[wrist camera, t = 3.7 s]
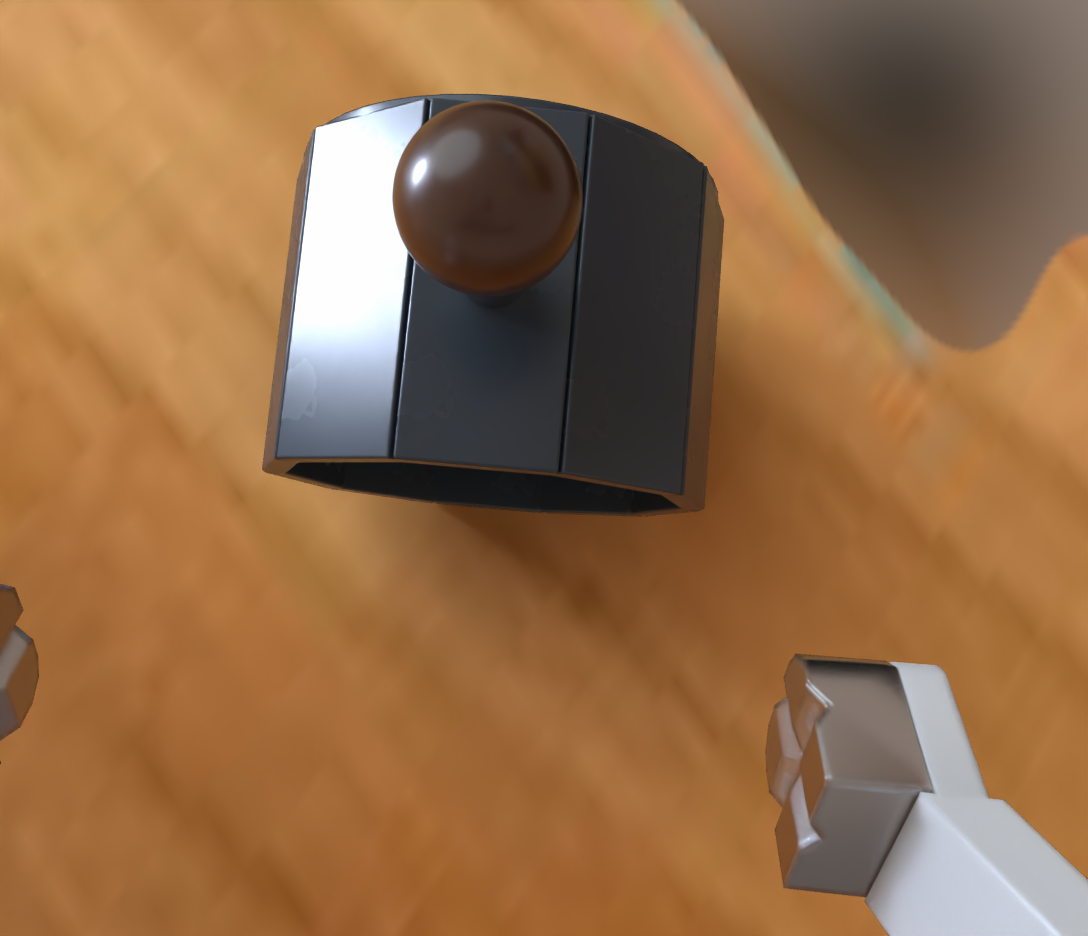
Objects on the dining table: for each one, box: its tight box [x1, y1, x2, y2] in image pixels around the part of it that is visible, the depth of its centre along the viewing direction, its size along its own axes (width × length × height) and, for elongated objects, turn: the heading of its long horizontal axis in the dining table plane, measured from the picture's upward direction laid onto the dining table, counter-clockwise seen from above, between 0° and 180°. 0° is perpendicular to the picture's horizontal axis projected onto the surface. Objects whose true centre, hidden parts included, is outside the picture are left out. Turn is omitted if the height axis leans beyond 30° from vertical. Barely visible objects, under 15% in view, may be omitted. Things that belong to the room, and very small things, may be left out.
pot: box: [262, 94, 724, 517], centre depth 24 cm, size 8×11×17 cm
